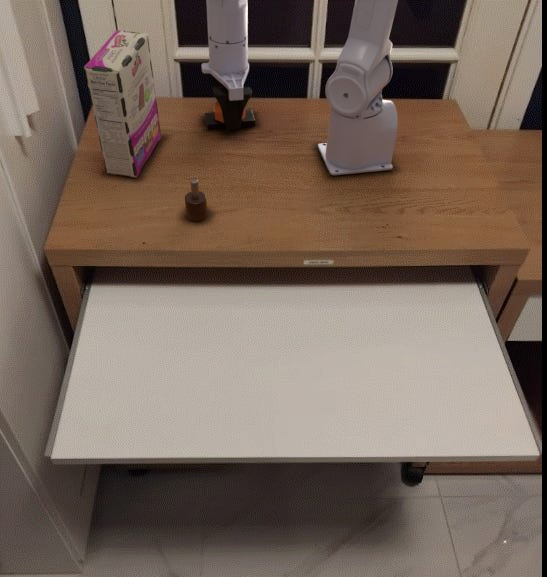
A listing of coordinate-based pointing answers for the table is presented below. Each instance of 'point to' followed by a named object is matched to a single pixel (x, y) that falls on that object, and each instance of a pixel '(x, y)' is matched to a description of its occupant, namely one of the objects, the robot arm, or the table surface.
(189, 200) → the brown cylinder with stem
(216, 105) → the ring
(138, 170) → the candy bar box
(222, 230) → the table surface
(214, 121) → the hob plate
